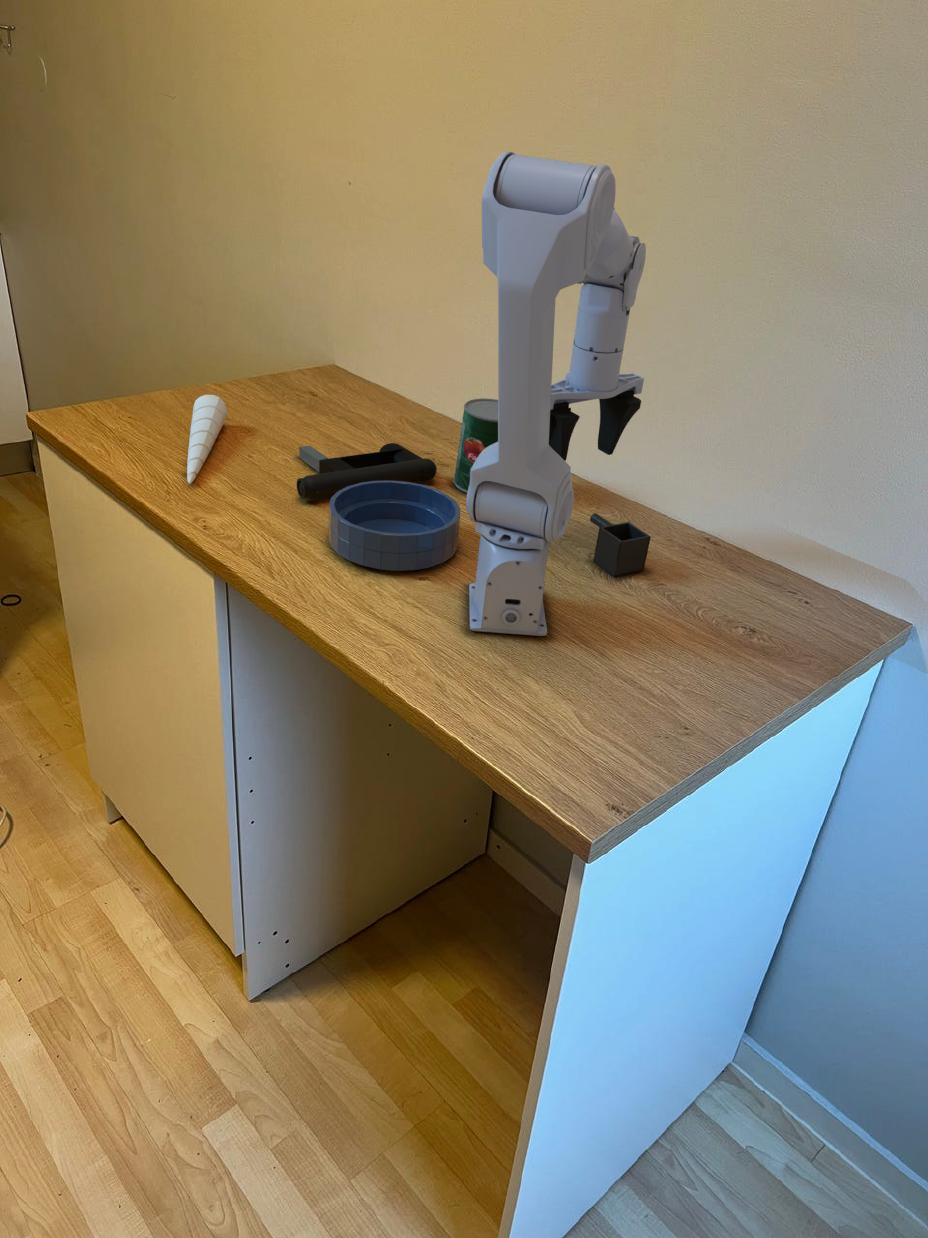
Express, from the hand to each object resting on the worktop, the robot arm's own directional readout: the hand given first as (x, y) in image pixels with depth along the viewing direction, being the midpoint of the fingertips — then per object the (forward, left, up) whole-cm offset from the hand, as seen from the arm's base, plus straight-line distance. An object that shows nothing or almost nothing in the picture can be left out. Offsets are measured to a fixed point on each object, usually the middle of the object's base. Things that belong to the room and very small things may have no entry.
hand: (581, 456), depth 113 cm
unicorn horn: (+17, +50, -10) cm, 54 cm away
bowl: (-7, +22, -10) cm, 25 cm away
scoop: (-7, -4, -10) cm, 13 cm away
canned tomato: (+13, +11, -10) cm, 20 cm away
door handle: (+13, +29, -10) cm, 33 cm away
